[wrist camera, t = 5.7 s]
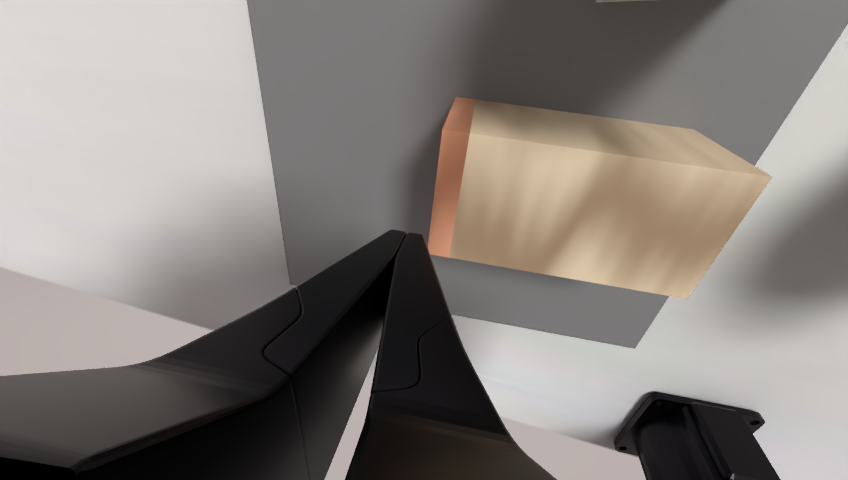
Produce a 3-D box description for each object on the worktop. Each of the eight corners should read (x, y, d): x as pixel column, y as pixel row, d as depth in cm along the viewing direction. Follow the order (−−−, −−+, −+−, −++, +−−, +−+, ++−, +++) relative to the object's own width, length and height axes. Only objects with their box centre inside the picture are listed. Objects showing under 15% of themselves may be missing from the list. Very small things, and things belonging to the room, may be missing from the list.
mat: (631, 340, 20) (634, 348, 20) (295, 277, 22) (290, 284, 21) (966, -189, 9) (994, -200, 8) (221, -238, 11) (208, -250, 10)
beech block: (441, 198, 16) (641, 230, 16) (426, 253, 13) (686, 299, 12) (455, 96, 14) (693, 129, 13) (442, 129, 10) (772, 176, 10)
